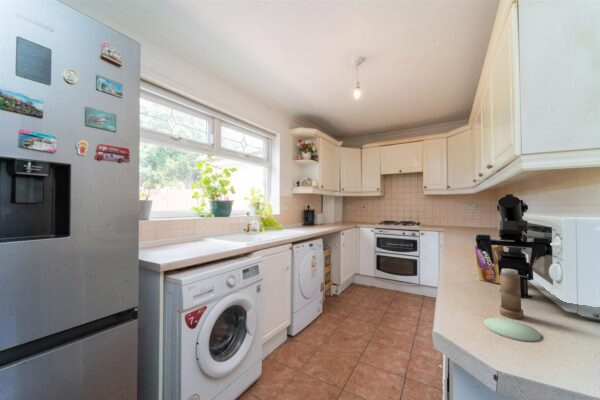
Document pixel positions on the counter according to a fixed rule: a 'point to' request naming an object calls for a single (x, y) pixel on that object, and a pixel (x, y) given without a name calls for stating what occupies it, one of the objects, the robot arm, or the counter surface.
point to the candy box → (488, 264)
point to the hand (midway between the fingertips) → (510, 265)
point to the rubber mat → (512, 329)
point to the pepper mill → (510, 294)
